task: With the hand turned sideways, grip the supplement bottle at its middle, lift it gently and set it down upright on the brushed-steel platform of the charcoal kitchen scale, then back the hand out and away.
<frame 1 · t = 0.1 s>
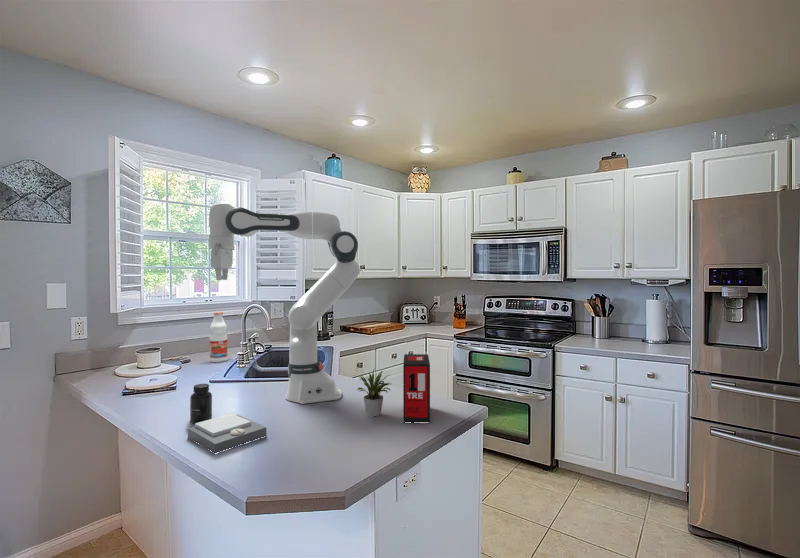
hand: (222, 280, 160), 48 cm above the countertop, tool pointing down, fingers open, 8 cm apart
kitchen scale: (227, 437, 126), on the countertop
supplement bottle: (201, 420, 142), on the countertop
fruit juice: (218, 361, 236), on the countertop
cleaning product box: (416, 415, 146), on the countertop
house plant: (370, 415, 146), on the countertop
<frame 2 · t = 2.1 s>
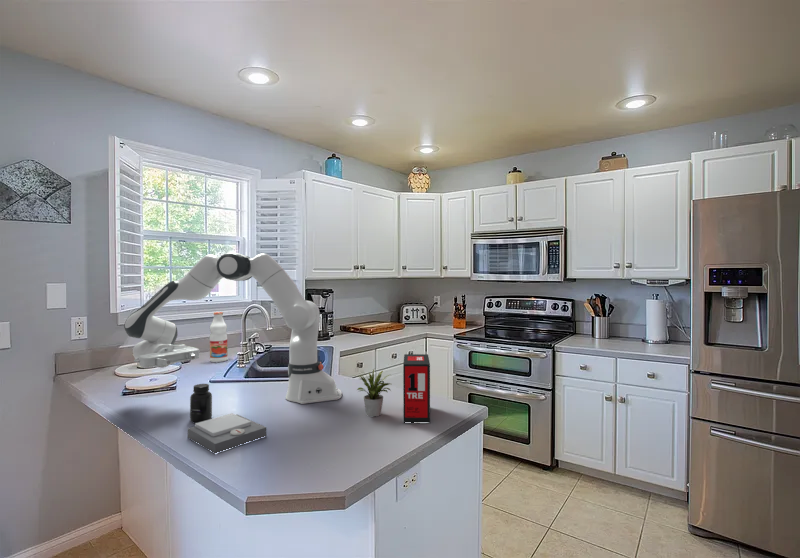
hand: (181, 359, 148), 19 cm above the countertop, tool horizontal, fingers open, 8 cm apart
nothing on the countertop moved.
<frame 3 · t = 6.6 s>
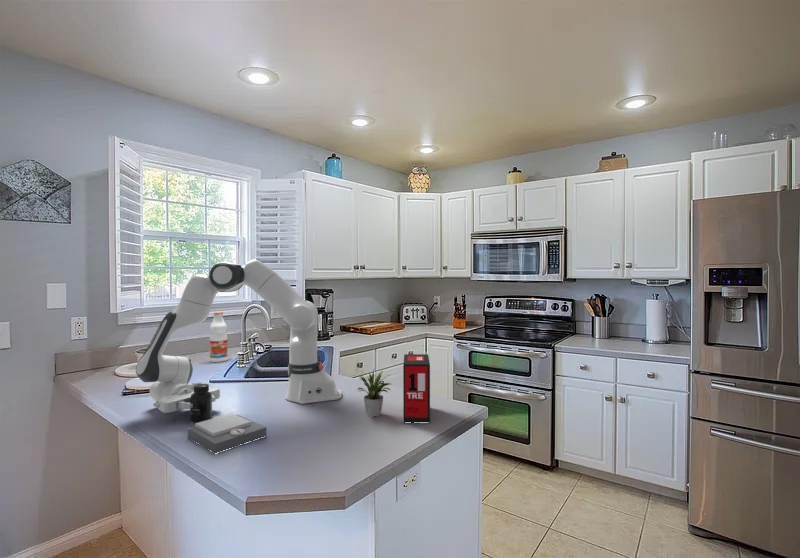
hand: (202, 402, 141), 6 cm above the countertop, tool horizontal, fingers closed on supplement bottle, 7 cm apart
supplement bottle: (201, 420, 142), on the countertop, touching gripper
everything else where it was.
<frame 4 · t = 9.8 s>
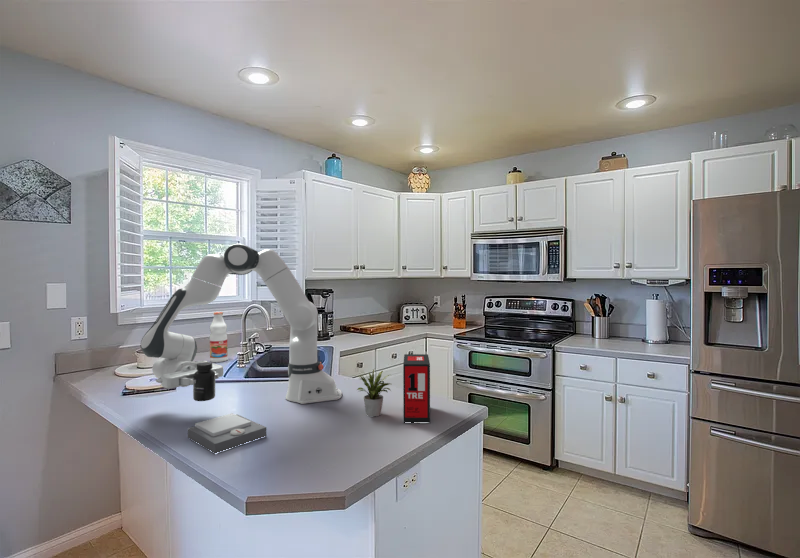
hand: (205, 379, 139), 15 cm above the countertop, tool horizontal, fingers closed on supplement bottle, 7 cm apart
supplement bottle: (204, 399, 139), point 8 cm above the countertop, touching gripper
everything else where it was.
when the fingers open (12 cm above the countertop, at t = 13.0 s): supplement bottle stays where it is, resting on kitchen scale.
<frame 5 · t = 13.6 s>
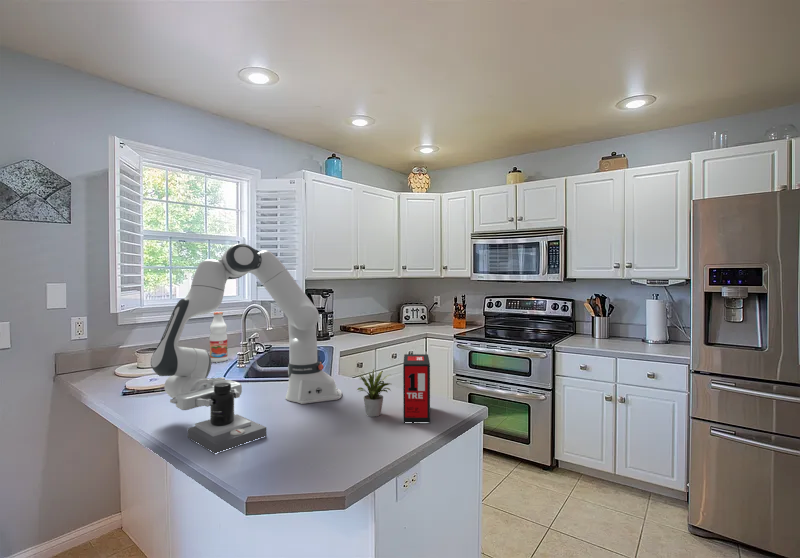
hand: (224, 399, 127), 12 cm above the countertop, tool horizontal, fingers open, 8 cm apart
supplement bottle: (222, 423, 128), point 4 cm above the countertop, touching kitchen scale
everything else where it was.
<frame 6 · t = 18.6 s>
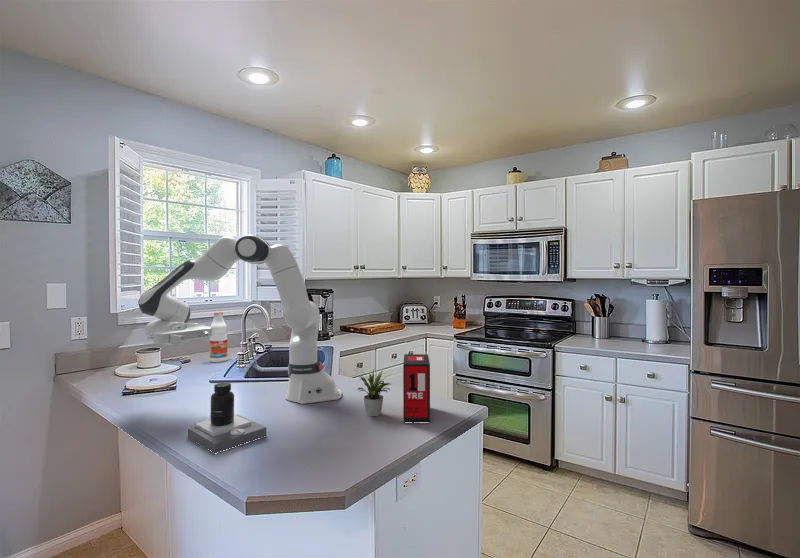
hand: (195, 336, 147), 28 cm above the countertop, tool horizontal, fingers open, 8 cm apart
nothing on the countertop moved.
at the end: supplement bottle inside the target area on the kitchen scale (0.2 cm from its centre), point 3.8 cm above the kitchen scale's base; supplement bottle tilted 0°; the gripper is holding nothing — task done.
